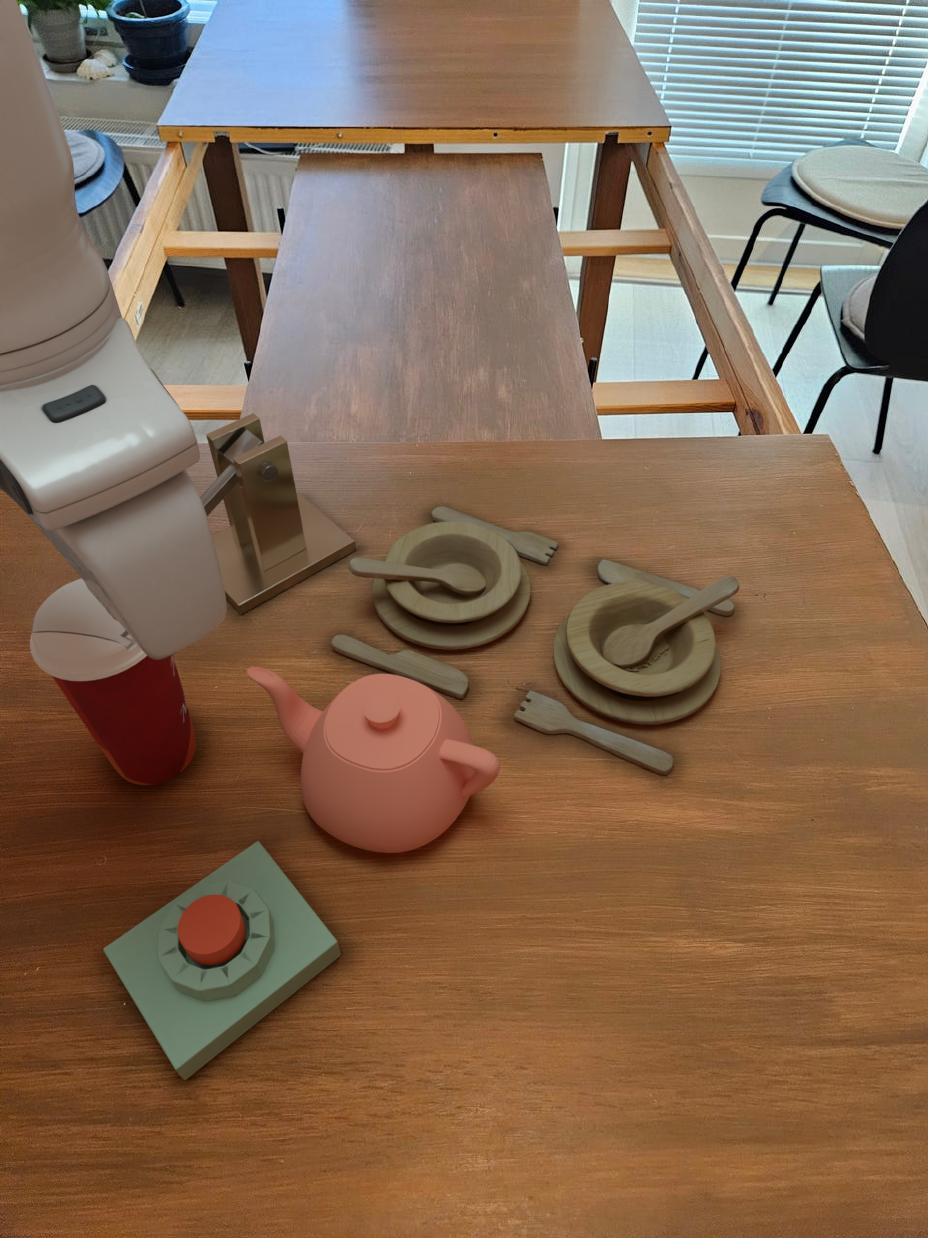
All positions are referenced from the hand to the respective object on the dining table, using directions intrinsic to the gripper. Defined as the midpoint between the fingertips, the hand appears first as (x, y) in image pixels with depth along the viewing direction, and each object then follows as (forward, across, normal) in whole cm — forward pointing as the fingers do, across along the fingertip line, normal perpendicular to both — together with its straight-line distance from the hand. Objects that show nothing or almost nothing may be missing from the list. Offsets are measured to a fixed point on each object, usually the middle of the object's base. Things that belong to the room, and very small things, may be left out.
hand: (118, 600), depth 46 cm
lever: (+14, -19, +14) cm, 28 cm away
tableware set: (+22, +3, +30) cm, 37 cm away
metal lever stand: (+22, -19, +18) cm, 34 cm away
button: (+18, +10, -5) cm, 21 cm away
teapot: (+22, +6, +11) cm, 25 cm away
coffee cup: (+22, -7, 0) cm, 23 cm away
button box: (+22, +10, -4) cm, 24 cm away
